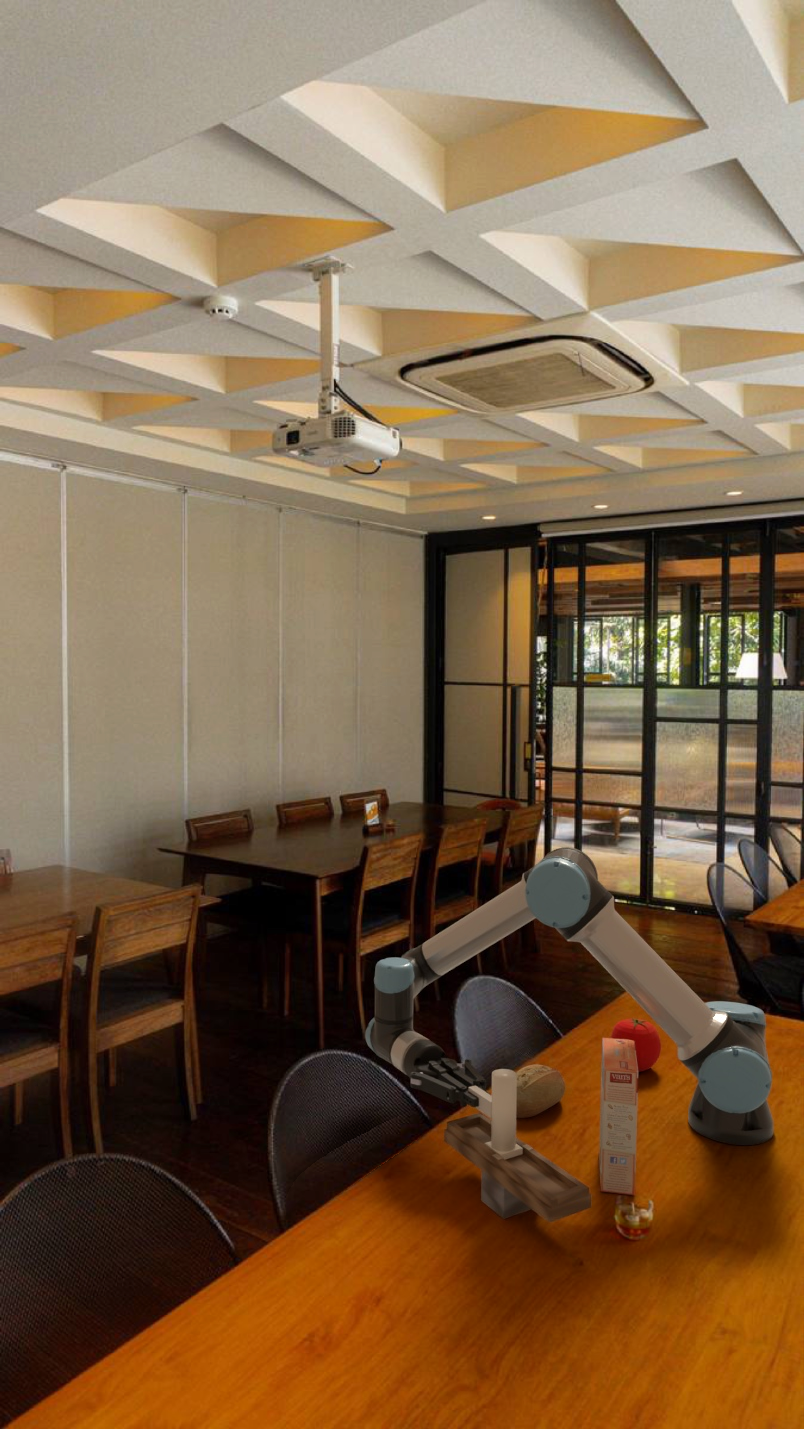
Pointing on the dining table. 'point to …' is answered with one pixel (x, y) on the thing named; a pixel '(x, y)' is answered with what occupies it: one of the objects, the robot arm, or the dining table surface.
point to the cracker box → (618, 1116)
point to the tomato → (640, 1040)
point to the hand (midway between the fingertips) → (494, 1109)
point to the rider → (504, 1114)
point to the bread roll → (537, 1089)
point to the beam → (516, 1174)
